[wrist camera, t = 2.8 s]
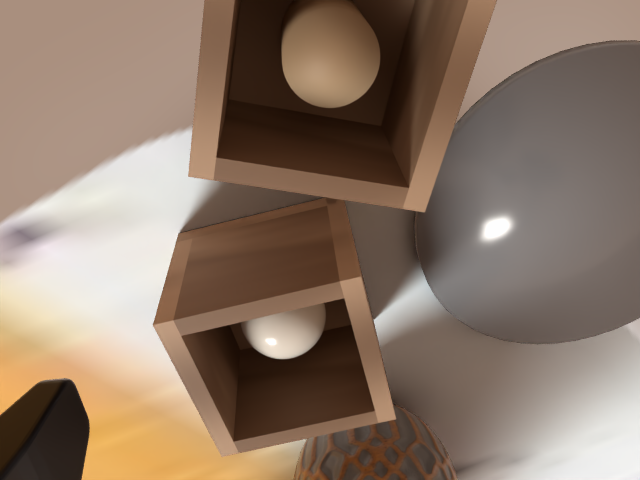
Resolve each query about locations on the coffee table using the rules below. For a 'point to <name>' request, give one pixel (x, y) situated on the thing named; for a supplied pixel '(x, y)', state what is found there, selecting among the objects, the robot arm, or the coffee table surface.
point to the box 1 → (341, 122)
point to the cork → (328, 52)
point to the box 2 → (263, 300)
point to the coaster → (542, 202)
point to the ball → (286, 331)
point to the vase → (377, 453)
